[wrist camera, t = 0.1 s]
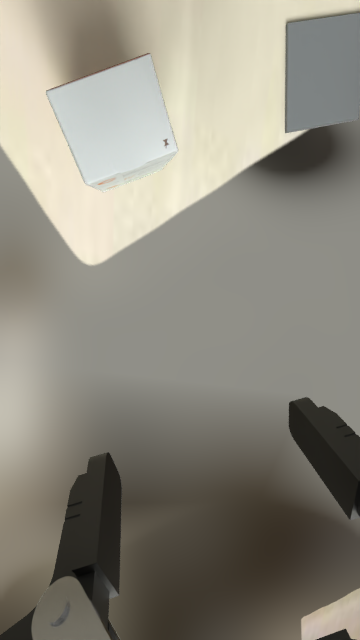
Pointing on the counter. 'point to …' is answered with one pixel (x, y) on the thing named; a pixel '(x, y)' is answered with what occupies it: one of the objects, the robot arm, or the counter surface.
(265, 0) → the counter surface
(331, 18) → the mat
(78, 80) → the small box
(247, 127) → the counter surface
